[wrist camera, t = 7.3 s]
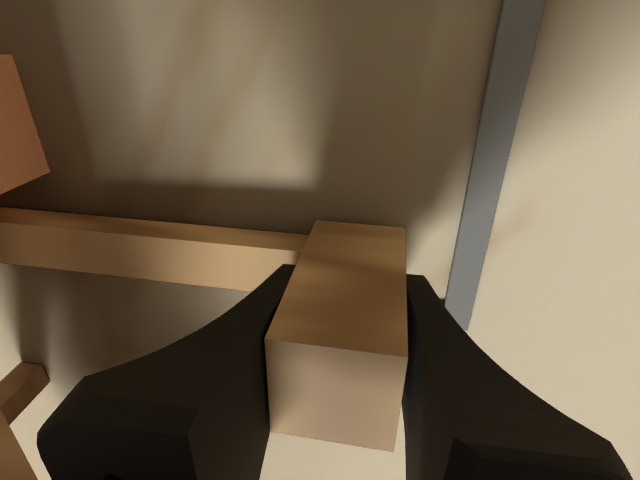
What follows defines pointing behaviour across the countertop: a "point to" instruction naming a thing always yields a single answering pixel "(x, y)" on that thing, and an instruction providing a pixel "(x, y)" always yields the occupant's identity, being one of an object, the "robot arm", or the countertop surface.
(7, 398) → the wooden bench
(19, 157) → the terracotta cube
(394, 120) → the countertop surface
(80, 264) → the oak crook
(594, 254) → the countertop surface
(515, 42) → the tape bracket
